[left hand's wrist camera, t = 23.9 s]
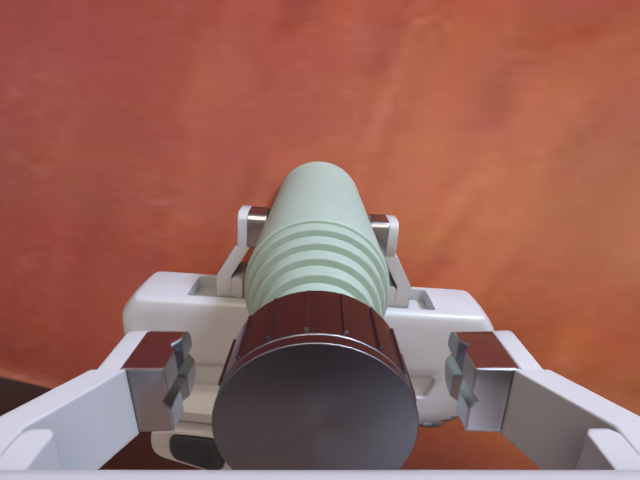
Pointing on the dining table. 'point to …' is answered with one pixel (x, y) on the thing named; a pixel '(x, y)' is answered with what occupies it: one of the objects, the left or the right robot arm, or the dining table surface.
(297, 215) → the bottle
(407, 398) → the cap
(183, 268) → the dining table surface
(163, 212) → the dining table surface
